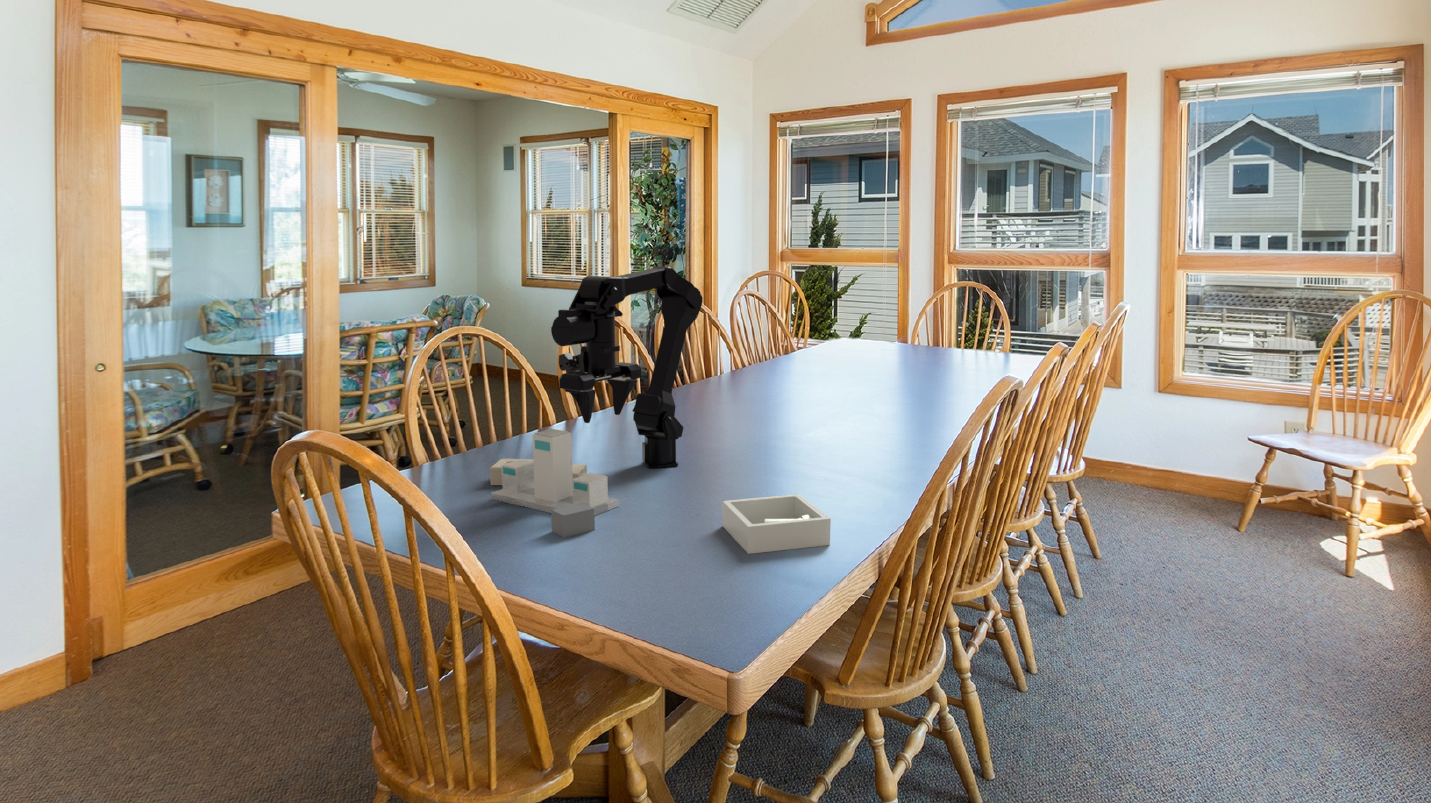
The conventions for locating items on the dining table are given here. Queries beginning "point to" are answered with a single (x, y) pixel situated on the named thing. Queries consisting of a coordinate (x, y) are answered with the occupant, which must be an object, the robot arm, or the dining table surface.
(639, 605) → the dining table surface
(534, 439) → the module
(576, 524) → the grey rectangular block
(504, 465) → the rail plate
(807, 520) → the parts tray
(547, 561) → the dining table surface
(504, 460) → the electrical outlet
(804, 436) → the dining table surface
